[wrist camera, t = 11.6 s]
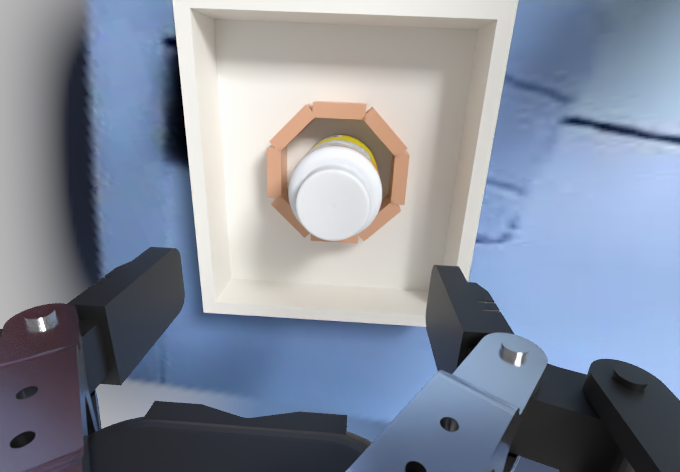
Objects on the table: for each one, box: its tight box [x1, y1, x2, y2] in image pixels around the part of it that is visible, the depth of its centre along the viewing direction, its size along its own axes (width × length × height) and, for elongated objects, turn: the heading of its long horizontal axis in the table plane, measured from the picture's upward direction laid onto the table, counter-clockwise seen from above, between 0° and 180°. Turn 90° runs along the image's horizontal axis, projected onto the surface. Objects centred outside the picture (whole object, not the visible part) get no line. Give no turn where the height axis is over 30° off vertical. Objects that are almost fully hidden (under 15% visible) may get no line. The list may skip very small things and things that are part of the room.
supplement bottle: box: [288, 134, 382, 241], centre depth 25 cm, size 6×6×10 cm
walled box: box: [173, 0, 518, 327], centre depth 28 cm, size 22×20×5 cm
